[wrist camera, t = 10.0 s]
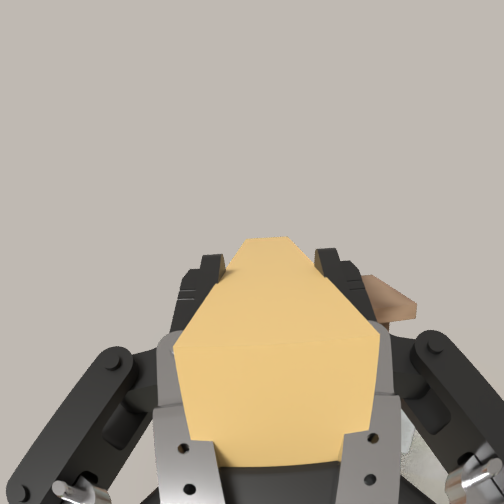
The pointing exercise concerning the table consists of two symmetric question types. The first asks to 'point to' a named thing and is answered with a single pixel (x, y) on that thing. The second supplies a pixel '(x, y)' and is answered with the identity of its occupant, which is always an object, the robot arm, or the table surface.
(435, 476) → the table surface
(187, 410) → the ochre bar
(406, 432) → the skincare box
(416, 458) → the table surface
